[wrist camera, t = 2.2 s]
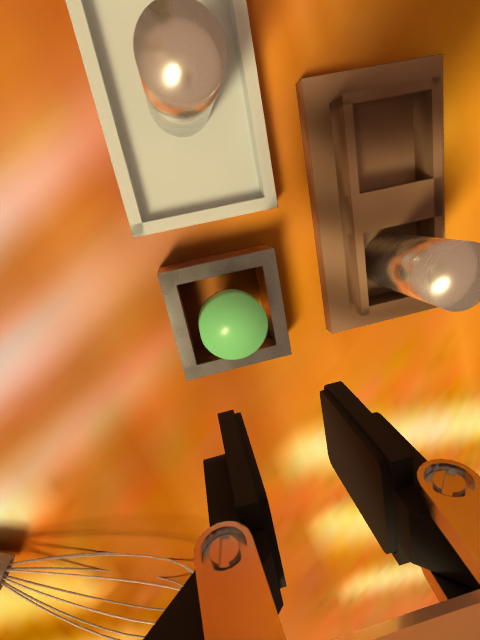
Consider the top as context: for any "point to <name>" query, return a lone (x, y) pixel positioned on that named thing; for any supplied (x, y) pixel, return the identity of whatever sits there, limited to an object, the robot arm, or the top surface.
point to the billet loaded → (426, 268)
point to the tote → (170, 151)
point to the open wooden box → (215, 265)
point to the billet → (179, 63)
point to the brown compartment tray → (371, 176)
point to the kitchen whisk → (4, 561)
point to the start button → (232, 324)
